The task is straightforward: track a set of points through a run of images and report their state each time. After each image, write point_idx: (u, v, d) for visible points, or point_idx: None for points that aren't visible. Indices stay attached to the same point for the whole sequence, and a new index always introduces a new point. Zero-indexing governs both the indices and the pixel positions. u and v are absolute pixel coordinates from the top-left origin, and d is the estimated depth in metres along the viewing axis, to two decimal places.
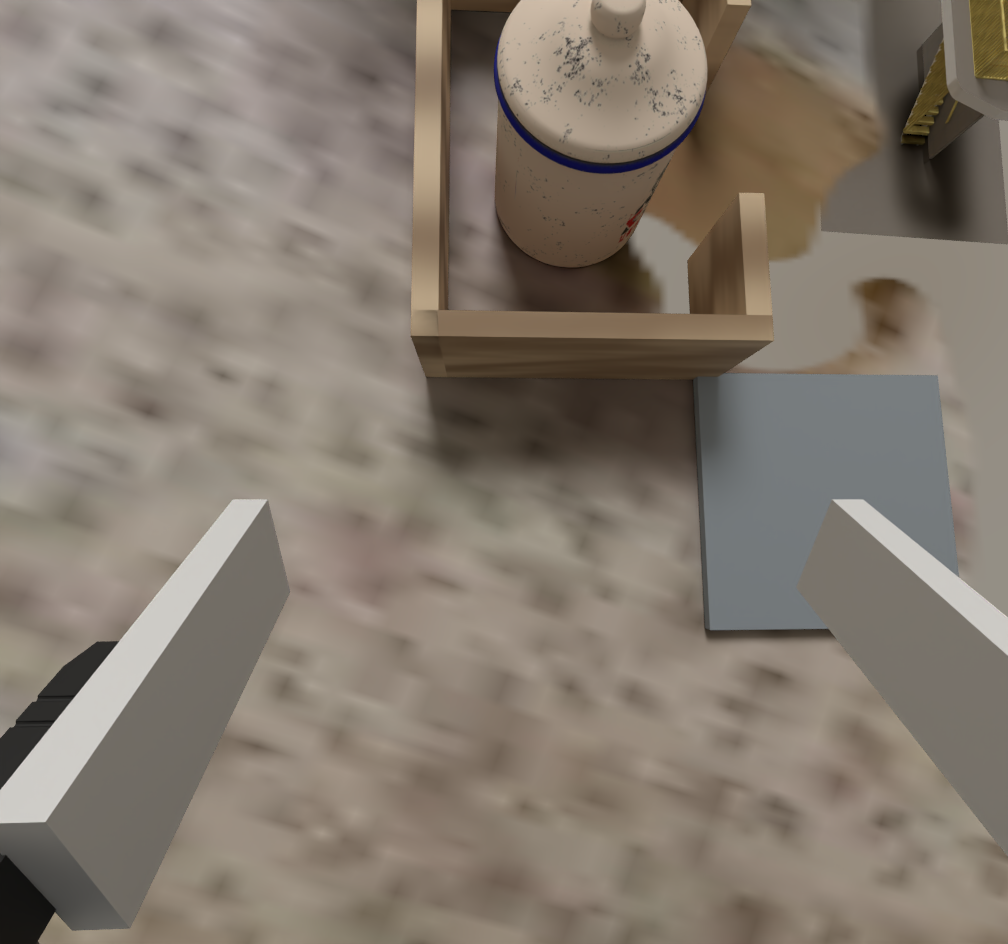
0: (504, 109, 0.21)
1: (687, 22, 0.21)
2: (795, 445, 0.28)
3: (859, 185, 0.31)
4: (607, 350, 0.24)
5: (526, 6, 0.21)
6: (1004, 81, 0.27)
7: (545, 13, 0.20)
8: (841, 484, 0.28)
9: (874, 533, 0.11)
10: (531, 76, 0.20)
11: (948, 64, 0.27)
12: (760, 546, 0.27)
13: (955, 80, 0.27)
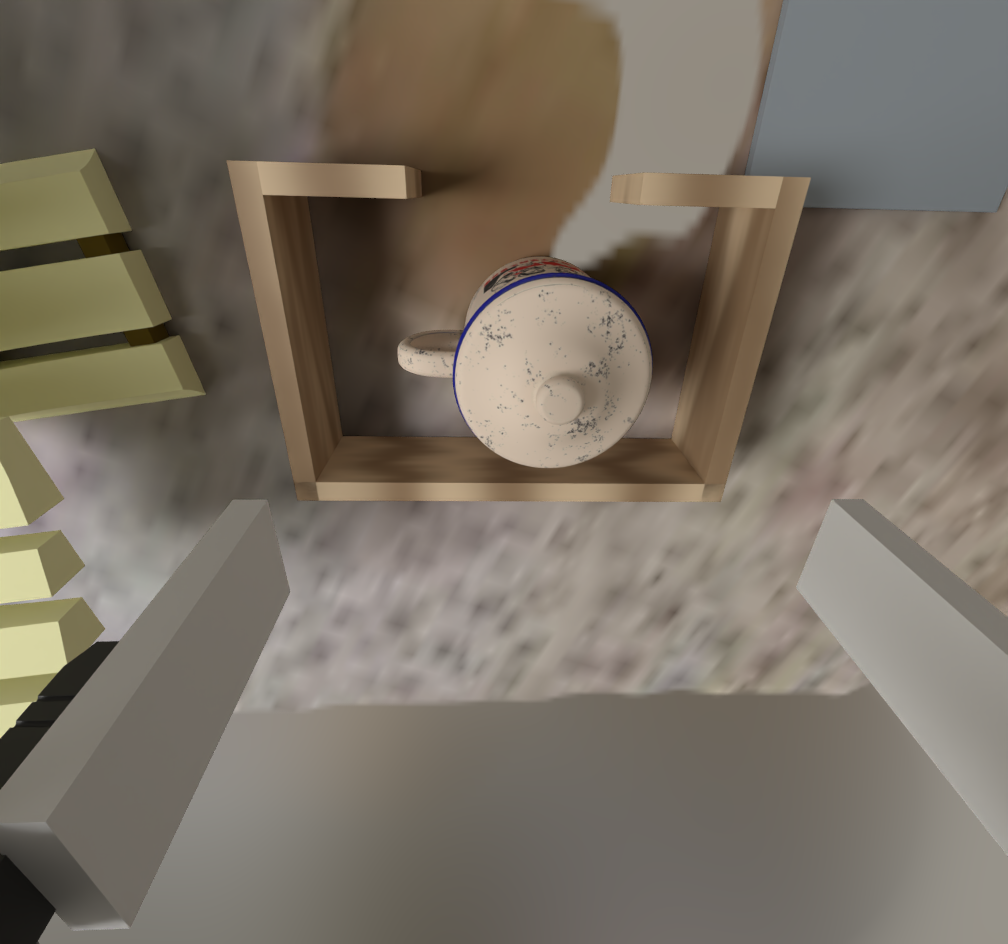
0: None
1: (523, 303, 0.20)
2: (854, 81, 0.24)
3: None
4: None
5: (508, 451, 0.24)
6: None
7: (526, 441, 0.23)
8: (919, 16, 0.23)
9: (874, 533, 0.11)
10: (579, 449, 0.24)
11: None
12: (943, 143, 0.26)
13: None
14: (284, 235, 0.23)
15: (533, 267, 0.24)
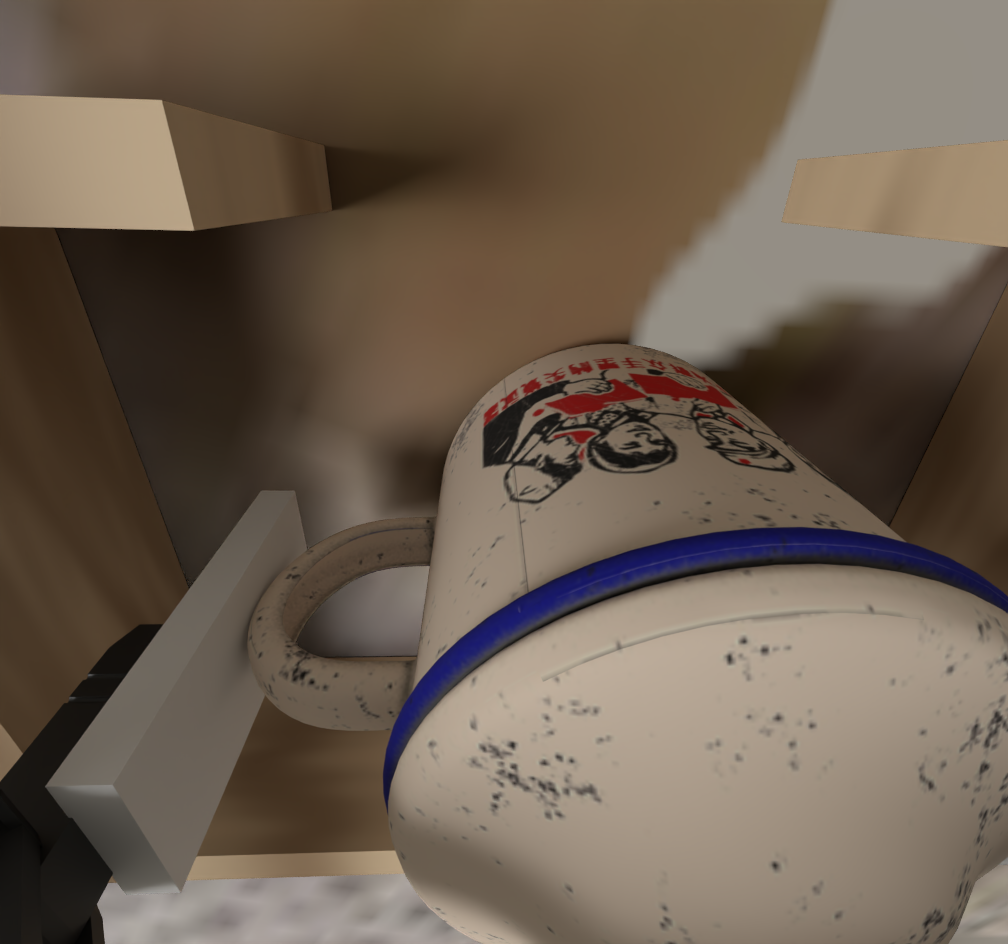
0: None
1: (656, 685, 0.05)
2: None
3: None
4: None
5: None
6: None
7: None
8: None
9: None
10: None
11: None
12: None
13: None
14: None
15: (623, 412, 0.09)
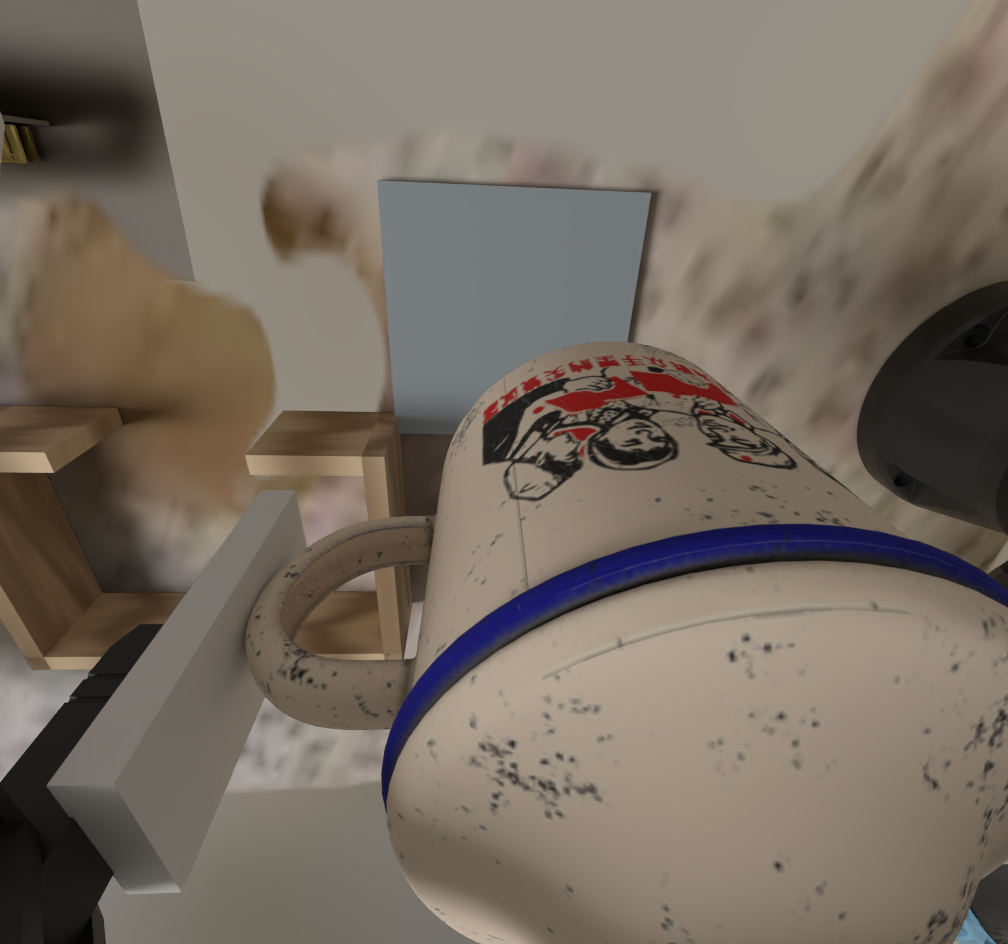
0: None
1: (657, 683, 0.05)
2: (459, 352, 0.30)
3: (121, 225, 0.27)
4: None
5: None
6: None
7: None
8: (497, 310, 0.29)
9: None
10: None
11: None
12: None
13: None
14: None
15: (624, 409, 0.09)
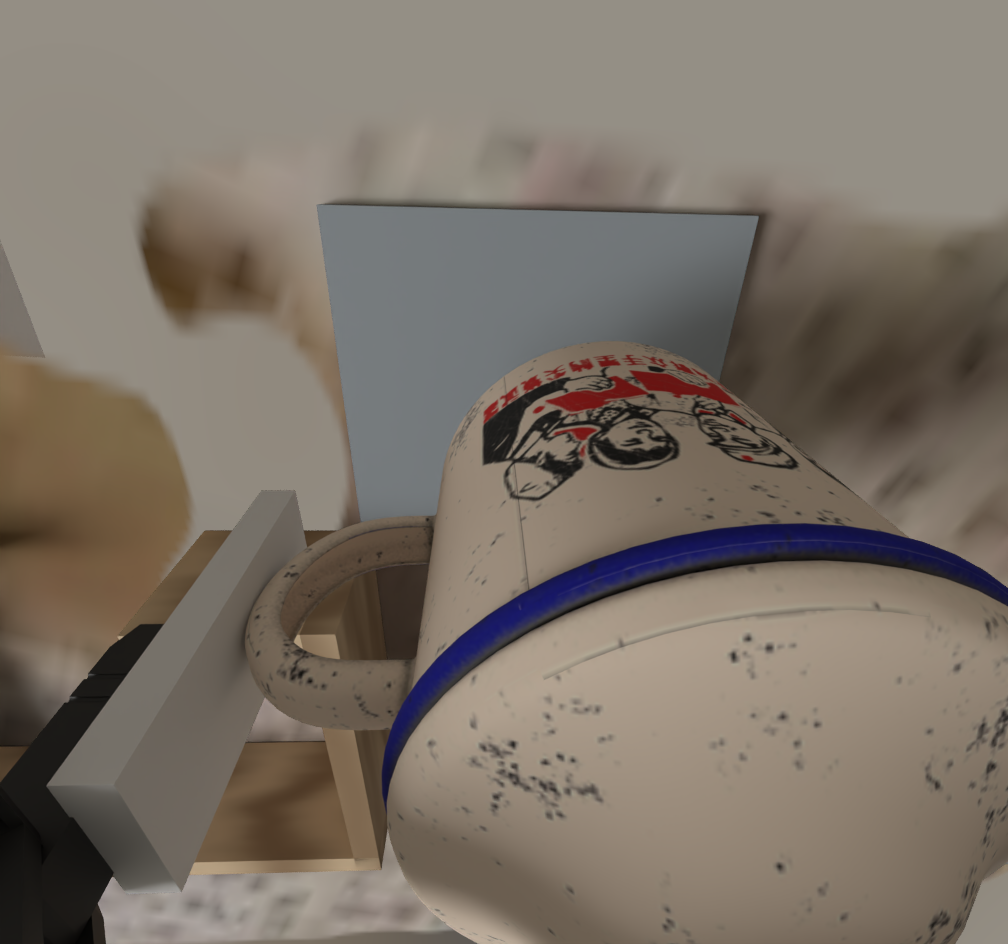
0: None
1: (659, 683, 0.05)
2: None
3: None
4: None
5: None
6: None
7: None
8: None
9: None
10: None
11: None
12: None
13: None
14: None
15: (624, 409, 0.08)
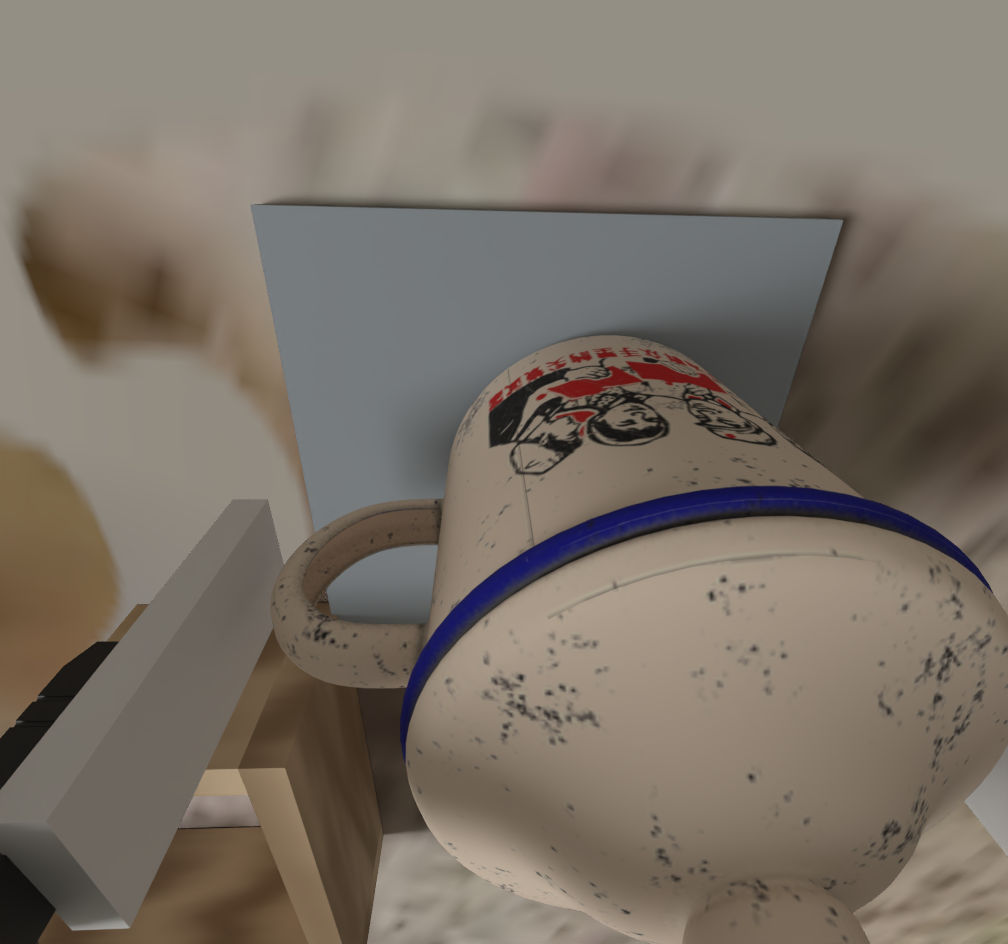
0: None
1: (648, 620, 0.05)
2: None
3: None
4: (337, 844, 0.18)
5: (559, 904, 0.09)
6: None
7: None
8: None
9: None
10: None
11: None
12: None
13: None
14: None
15: (620, 394, 0.09)
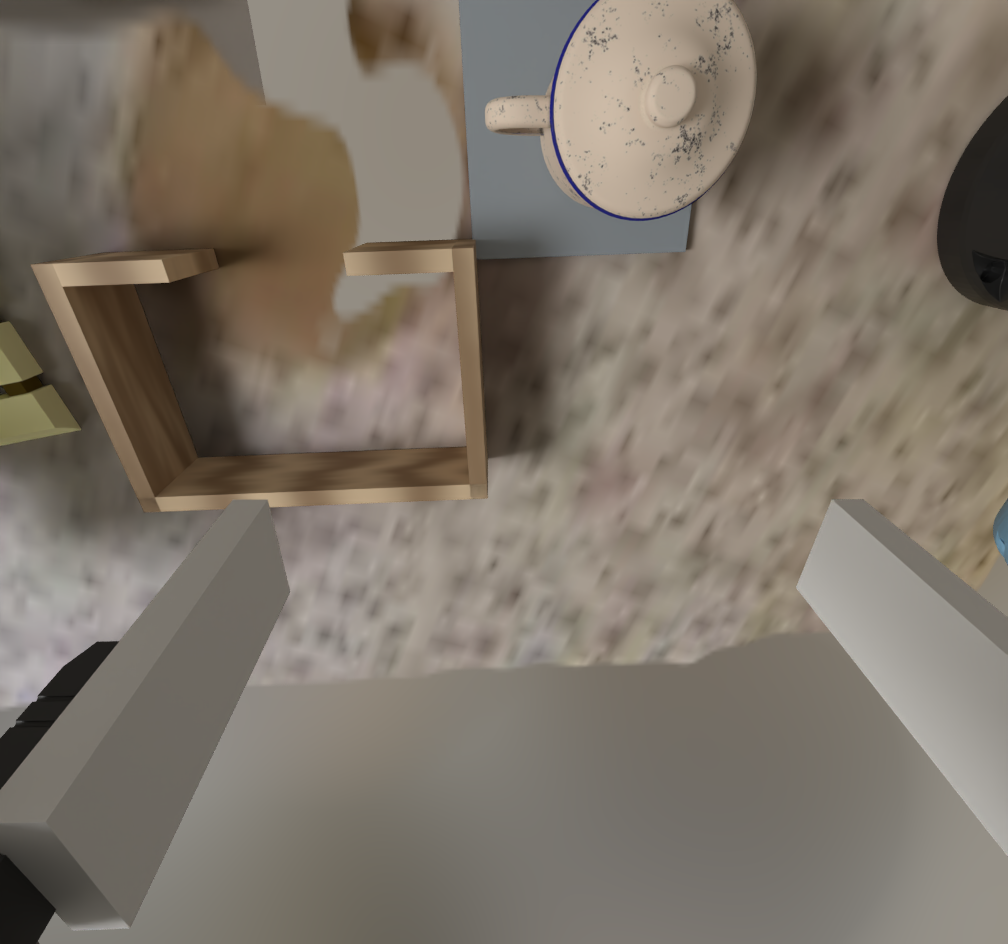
0: (681, 209, 0.24)
1: None
2: (535, 161, 0.31)
3: None
4: None
5: (607, 191, 0.23)
6: None
7: (627, 172, 0.22)
8: None
9: (874, 533, 0.11)
10: (679, 185, 0.23)
11: None
12: None
13: None
14: (95, 311, 0.31)
15: None
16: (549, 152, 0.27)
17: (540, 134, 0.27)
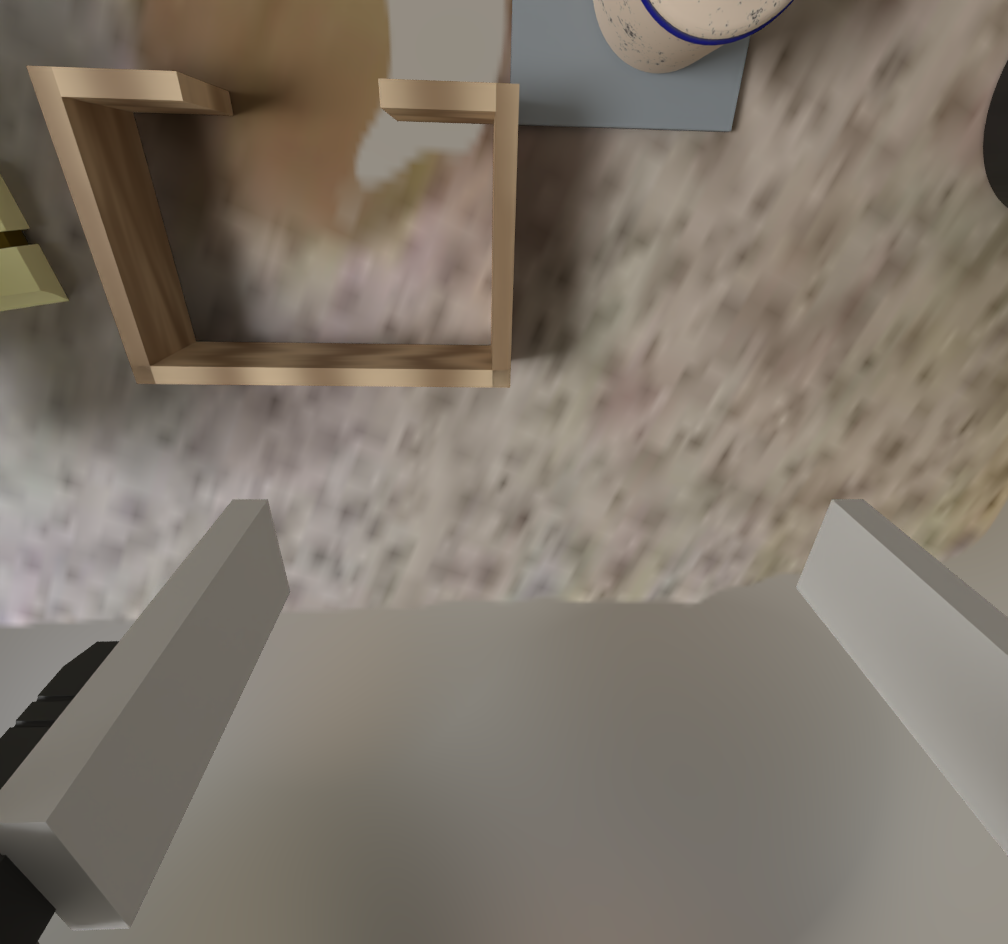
0: (751, 34, 0.23)
1: None
2: (583, 11, 0.29)
3: None
4: None
5: None
6: None
7: None
8: None
9: (874, 533, 0.11)
10: None
11: None
12: None
13: None
14: (95, 139, 0.28)
15: None
16: None
17: None
